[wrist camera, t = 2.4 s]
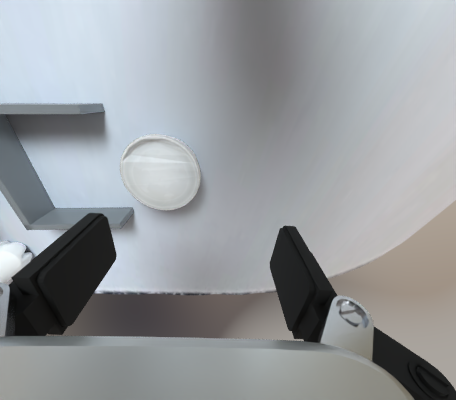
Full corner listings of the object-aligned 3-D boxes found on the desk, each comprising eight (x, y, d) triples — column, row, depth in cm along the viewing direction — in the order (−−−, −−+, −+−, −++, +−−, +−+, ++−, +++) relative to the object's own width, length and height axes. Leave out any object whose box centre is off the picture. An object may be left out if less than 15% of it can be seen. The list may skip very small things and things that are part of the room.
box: (102, 103, 26) (77, 104, 21) (133, 211, 34) (121, 228, 30) (-9, 103, 25) (-57, 104, 21) (51, 213, 34) (26, 230, 30)
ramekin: (176, 114, 27) (167, 117, 22) (216, 176, 32) (215, 190, 27) (119, 152, 29) (100, 162, 25) (164, 204, 34) (155, 221, 29)
